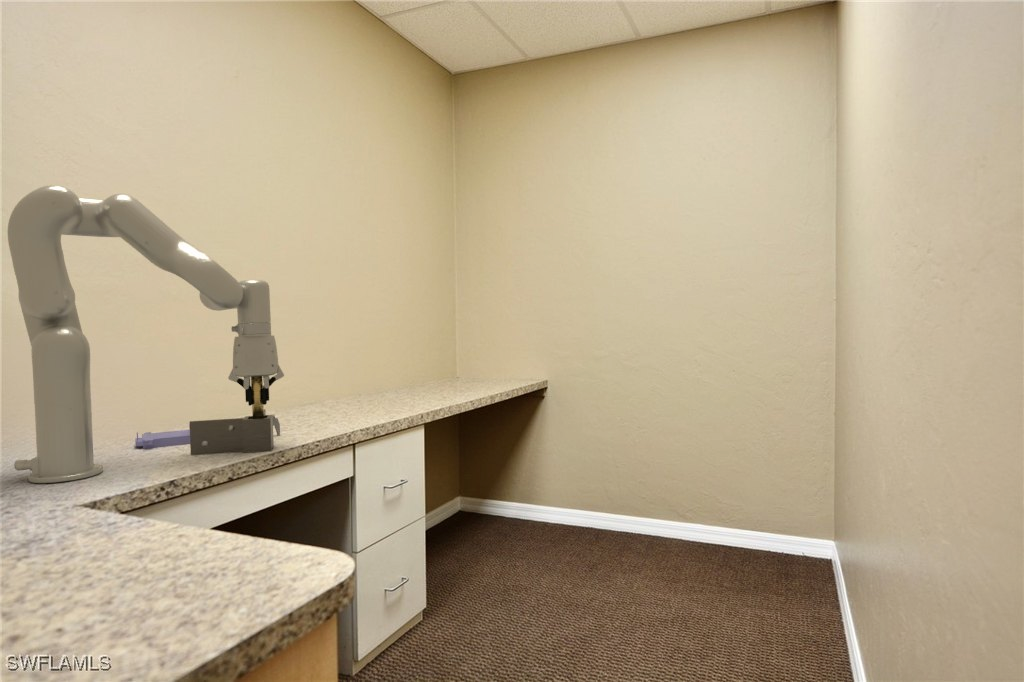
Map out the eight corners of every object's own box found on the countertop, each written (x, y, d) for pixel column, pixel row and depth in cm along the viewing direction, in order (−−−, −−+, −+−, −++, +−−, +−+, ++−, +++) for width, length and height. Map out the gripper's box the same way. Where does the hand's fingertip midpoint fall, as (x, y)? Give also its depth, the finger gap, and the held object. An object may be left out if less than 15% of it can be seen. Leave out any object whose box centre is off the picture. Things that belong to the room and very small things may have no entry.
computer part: (135, 443, 165) (135, 453, 152) (134, 428, 165) (135, 436, 152) (253, 431, 181) (263, 438, 168) (253, 416, 181) (262, 423, 168)
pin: (252, 421, 150) (250, 372, 149) (253, 420, 152) (251, 372, 152) (263, 420, 150) (261, 372, 150) (264, 419, 153) (262, 371, 152)
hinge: (188, 457, 144) (186, 423, 144) (203, 442, 161) (202, 412, 161) (271, 450, 149) (270, 418, 149) (277, 437, 167) (276, 408, 167)
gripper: (216, 331, 144) (219, 408, 145) (288, 329, 149) (291, 404, 150) (221, 331, 152) (224, 404, 152) (290, 329, 156) (293, 400, 157)
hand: (257, 403), depth 151 cm, fingers closed on pin, 2 cm apart
